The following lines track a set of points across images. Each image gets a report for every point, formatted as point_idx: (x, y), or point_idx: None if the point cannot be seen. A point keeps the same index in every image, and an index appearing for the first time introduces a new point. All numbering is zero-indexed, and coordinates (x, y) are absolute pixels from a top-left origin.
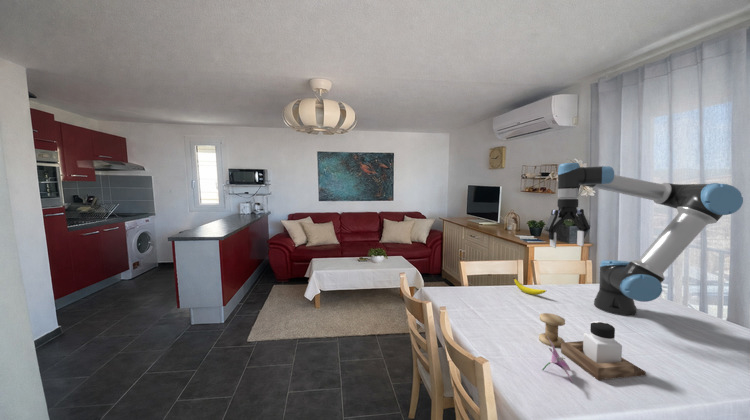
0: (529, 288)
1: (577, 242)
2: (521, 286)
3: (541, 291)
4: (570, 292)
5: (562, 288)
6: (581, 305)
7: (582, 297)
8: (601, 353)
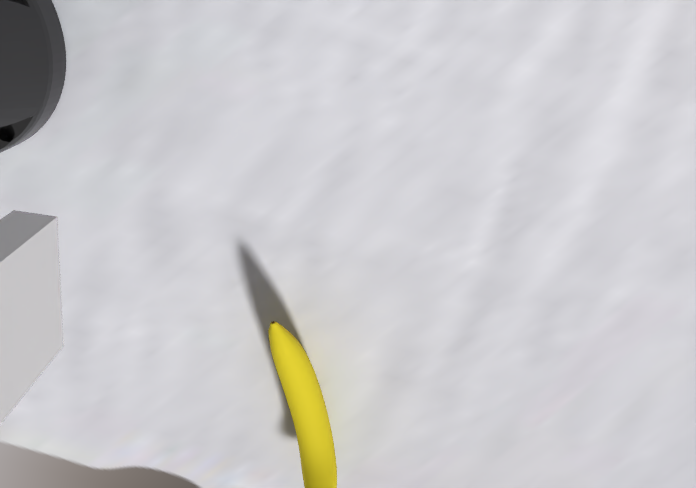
0: (307, 410)
1: (32, 374)
2: (325, 451)
3: (292, 338)
4: None
5: None
6: (132, 151)
7: None
8: None
